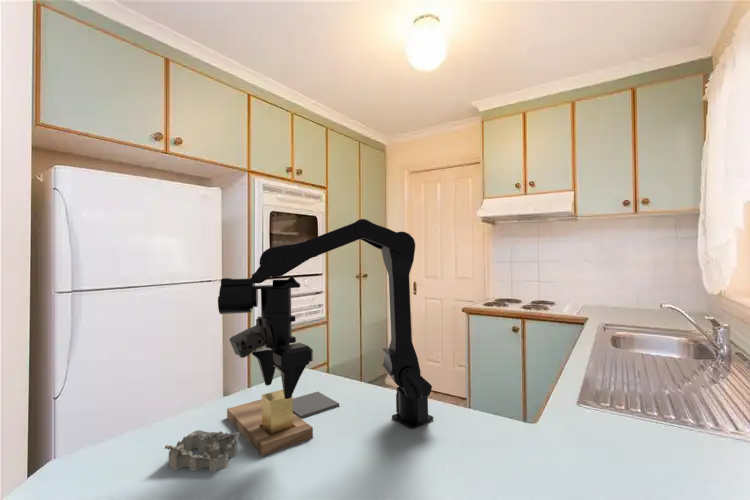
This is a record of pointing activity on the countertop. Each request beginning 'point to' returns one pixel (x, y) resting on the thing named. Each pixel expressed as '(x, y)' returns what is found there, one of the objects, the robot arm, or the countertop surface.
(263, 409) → the brass plug
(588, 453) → the countertop surface
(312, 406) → the rubber mat
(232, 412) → the walnut board
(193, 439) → the egg carton
